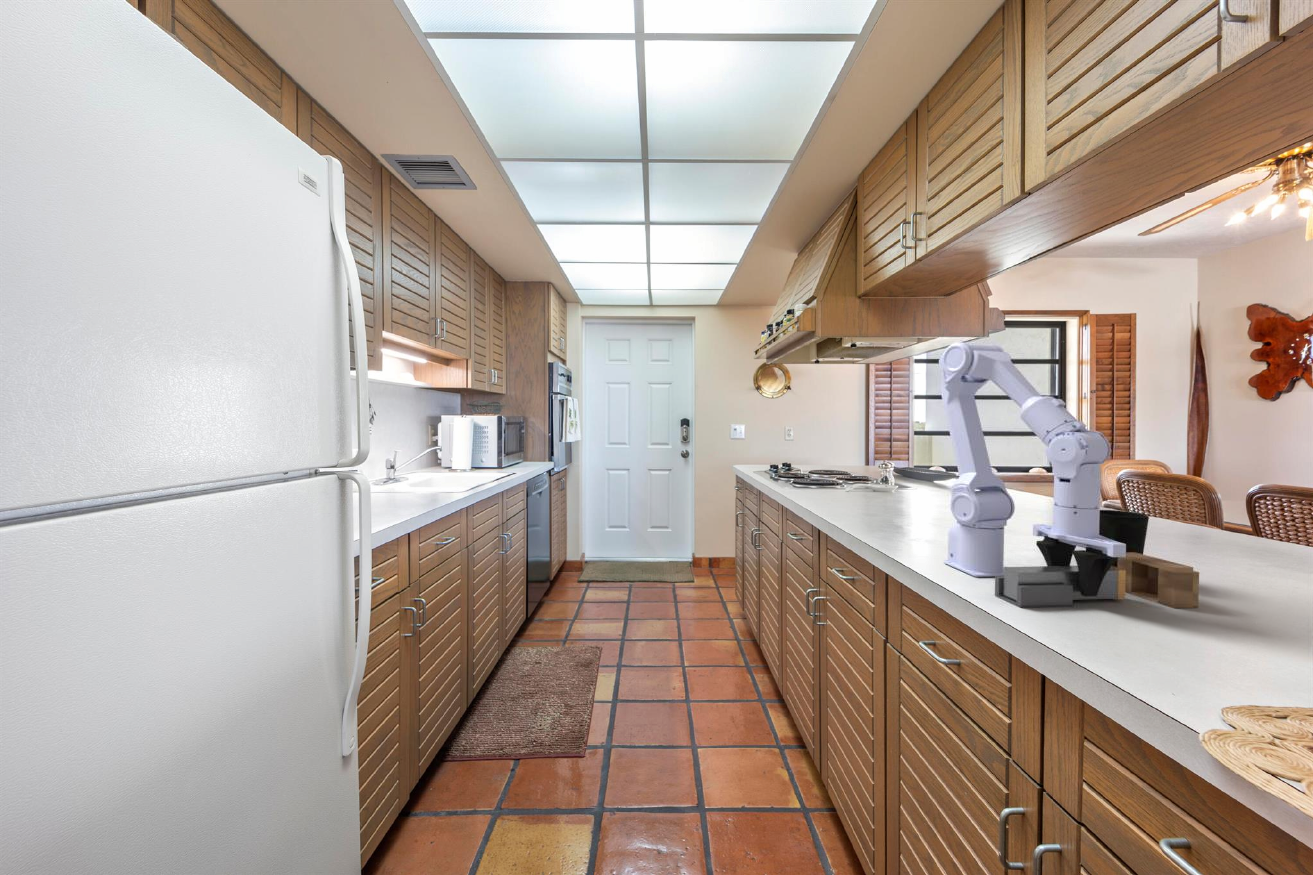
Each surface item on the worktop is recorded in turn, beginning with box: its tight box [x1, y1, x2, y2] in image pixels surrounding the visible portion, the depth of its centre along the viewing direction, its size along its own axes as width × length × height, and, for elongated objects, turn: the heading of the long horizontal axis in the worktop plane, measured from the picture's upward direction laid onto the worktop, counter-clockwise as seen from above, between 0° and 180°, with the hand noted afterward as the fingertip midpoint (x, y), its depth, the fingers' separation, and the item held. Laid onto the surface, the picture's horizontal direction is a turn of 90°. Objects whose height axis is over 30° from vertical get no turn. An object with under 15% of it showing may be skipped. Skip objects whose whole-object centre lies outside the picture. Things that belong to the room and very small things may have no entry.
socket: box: [1117, 552, 1200, 609], centre depth 82 cm, size 9×4×6 cm, turn 4°
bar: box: [1003, 565, 1126, 601], centre depth 81 cm, size 3×18×5 cm, turn 94°
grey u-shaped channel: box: [994, 576, 1073, 609], centre depth 81 cm, size 5×8×3 cm, turn 94°
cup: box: [1099, 509, 1150, 567], centre depth 92 cm, size 8×8×12 cm
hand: (1073, 589), depth 81 cm, fingers open, 5 cm apart
